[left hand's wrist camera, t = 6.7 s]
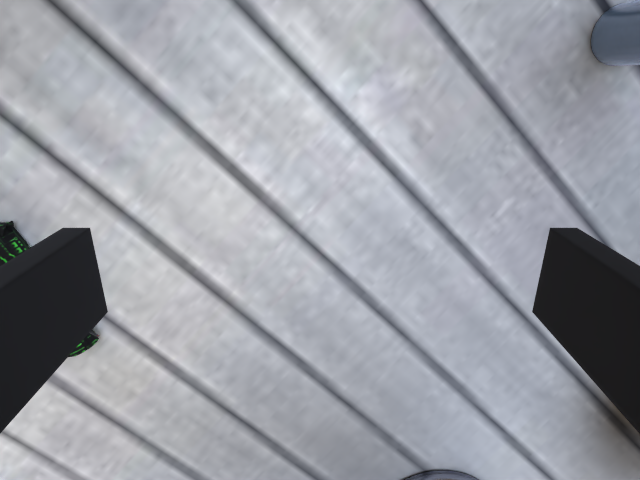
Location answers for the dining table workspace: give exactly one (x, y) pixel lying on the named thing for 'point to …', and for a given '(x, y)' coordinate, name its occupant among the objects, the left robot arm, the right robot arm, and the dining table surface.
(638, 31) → the blue-grey bottle
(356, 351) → the dining table surface
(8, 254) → the handgun
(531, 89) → the dining table surface
